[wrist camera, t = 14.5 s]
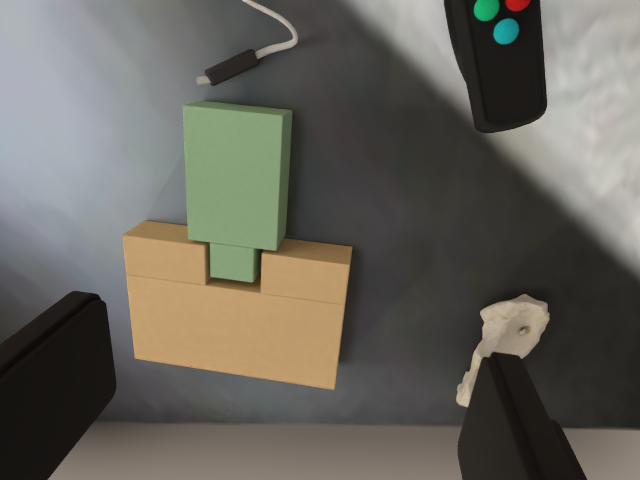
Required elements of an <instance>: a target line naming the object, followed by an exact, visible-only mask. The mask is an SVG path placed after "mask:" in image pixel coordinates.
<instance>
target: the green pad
mask: <svg viewBox="0 0 640 480" xmlns="http://www.w3.org/2000/svg"><path fill="white" fill-rule="evenodd" d="M292 113H293V111H292V110H287V109H277V108H267V107H257V106H247V105H237V104H227V103H218V102H208V101H200V102H195V103H191V104H186V105H183V125H184V150H185V174H186V199H187V224H188V239H189V240H197V241H204V242H210V268H211V277H216V278H223V279H231V280H238V281H245V282H254V280H255V278H256V277H257V275H258V273H259V271H260V270H261V265H262V253H263V251H264V249H265V250H273V251H277V249H278V247H279V245H280V243H281V242H282V240H283V238H284V236H285V234H286V221H287V203H288V185H289V167H290V149H291V131H292Z"/></svg>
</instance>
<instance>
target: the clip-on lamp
mask: <svg viewBox="0 0 640 480" xmlns="http://www.w3.org/2000/svg"><path fill="white" fill-rule="evenodd" d="M242 1H244V2H246V3H247V4H249V5H251V6H253V7H255V8H257V9H259V10H261V11H263V12H265V13H267V14H268V15H270V16H272V17H274V18H276V19H278V20H279V21H280V22H282V23H283V24H284V25H286V26H287V27H288V28H289V30H290V31H291V32H292V34H293V39H292V40H290V41H288V42H284V43H279V44H274V45H271V46H267V47H265V48H263V49H260V50H258V51H256V52H254V50H253V49H249V50H247V51H245V52H243V53H241V54H239V55H236V56H234V57H232V58H230V59H228V60H226V61H224V62H222V63H219V64H217V65H215V66H213V67H211V68H209V69H207V70H205V74H206V76H203V77H197V85H202V84H211V85H212V86H215V85H217V84H219V83H221V82H223V81H225V80H228V79H230V78H232V77H234V76H236V75H238V74H240V73H242V72H244V71H246V70H248V69H250V68H253V67H255V66H257V65H258V64H259V62H258V59H260V58H262V57H264V56H266V55H268V54H271V53H274V52H277V51H281V50H285V49H288V48H291V47H293V46H294V45H295V44H297V42H298V35H297V32H296V30H295V29H294V27H293V26H292V25H291V24H290V23H289V22H288V21H287V20H286V19H284V18H283V17H282V16H280V15H279V14H277V13H275V12H273V11H271V10H270V9H268V8H266V7H264V6H262V5H259V4H257V3H255V2H253V1H251V0H242Z"/></svg>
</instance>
